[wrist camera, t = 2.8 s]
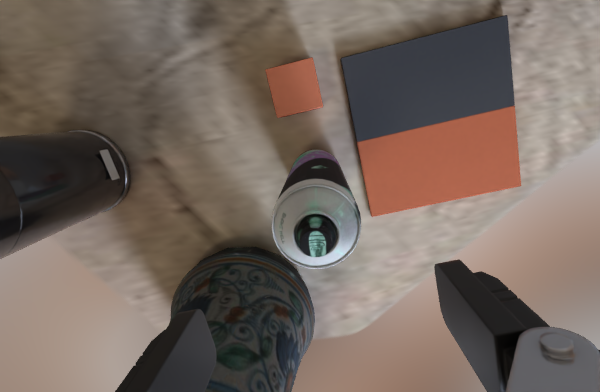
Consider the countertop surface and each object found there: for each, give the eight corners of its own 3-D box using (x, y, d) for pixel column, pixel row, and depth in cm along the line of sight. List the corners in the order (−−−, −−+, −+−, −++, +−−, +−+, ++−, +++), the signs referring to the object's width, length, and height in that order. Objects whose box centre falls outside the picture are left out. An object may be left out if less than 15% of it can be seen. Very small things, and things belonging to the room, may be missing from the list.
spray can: (322, 139, 35) (330, 171, 16) (350, 180, 36) (389, 257, 17) (281, 168, 36) (242, 231, 17) (310, 207, 37) (303, 309, 18)
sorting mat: (371, 215, 37) (371, 216, 37) (340, 59, 33) (340, 58, 33) (517, 184, 36) (521, 186, 35) (503, 16, 32) (507, 14, 31)
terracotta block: (281, 117, 35) (277, 118, 31) (271, 74, 34) (265, 69, 30) (322, 107, 35) (323, 106, 30) (313, 63, 34) (312, 57, 29)
